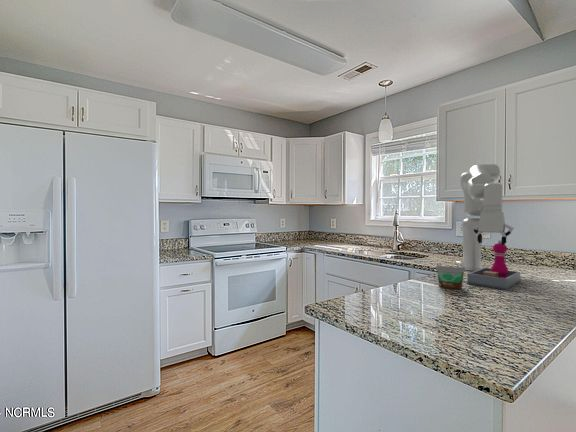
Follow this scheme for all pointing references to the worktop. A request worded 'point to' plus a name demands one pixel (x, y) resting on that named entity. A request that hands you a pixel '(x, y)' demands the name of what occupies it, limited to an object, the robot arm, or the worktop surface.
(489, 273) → the wooden block
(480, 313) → the worktop surface
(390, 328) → the worktop surface
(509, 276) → the tray
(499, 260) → the pepper mill
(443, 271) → the food container
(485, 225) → the robot arm
